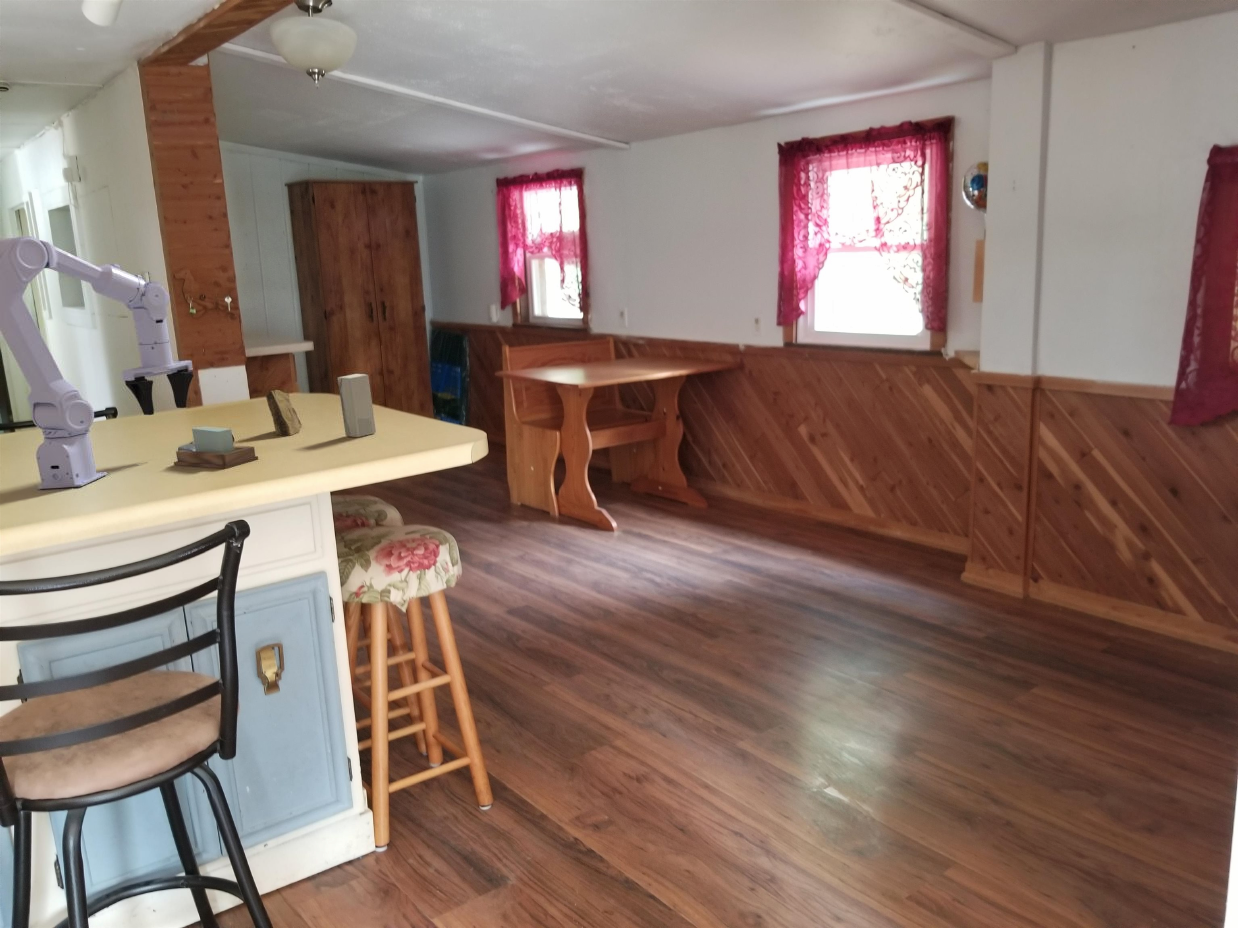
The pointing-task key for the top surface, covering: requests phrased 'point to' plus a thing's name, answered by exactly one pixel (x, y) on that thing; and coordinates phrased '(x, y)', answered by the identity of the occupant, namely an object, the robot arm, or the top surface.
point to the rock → (283, 413)
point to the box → (356, 405)
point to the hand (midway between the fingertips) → (165, 411)
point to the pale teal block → (213, 439)
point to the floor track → (216, 458)
